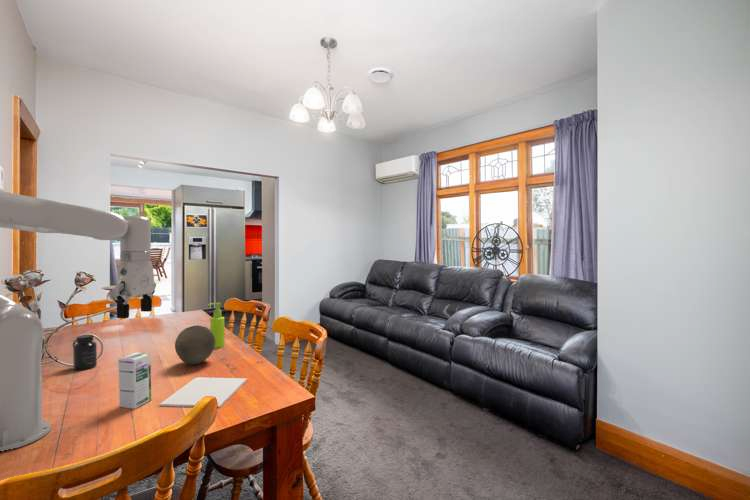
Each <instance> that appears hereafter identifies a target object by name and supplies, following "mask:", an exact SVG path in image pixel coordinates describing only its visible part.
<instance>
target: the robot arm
mask: <svg viewBox="0 0 750 500" xmlns="http://www.w3.org/2000/svg"><path fill="white" fill-rule="evenodd" d="M0 228H4V229H10V230H17V231H18V230H19V231H25V232H30V233H31V232H33V233H40V234H65V235H73V236H80V237H87V238H92V239H95V240H100V241H116V240H119V245H120V246H119V247H120V248H119V251H120V254H119V257H120V258H119V266H118V271H117V278H116V286H115V287H114V288H112V289H111V290H110V294H111V296H112V300H113V301H114V303H115V305H116V318H117V319H129V318H130V303H129V301H130V300H131V298H132V297H134V298H135V297H136V298H137V297H142V298H140V312H145V313H146V312H147V313H148V312H152V311H153V298H154V294H155V291H156V290H155V289H156V287H157V283H156V282H155V277H154V276H155V275H154V274H155V273H154V267H153V263H152V260H151V259H152V258H151V257H152V254H151V252H152V250H151V249H152V247H151V245H152V240H151V239H152V232H151V231H152V222H151V219H150V218H149V217H146V216H139V215H126V216H122V215H121V214H118V213H116V212H112V211H107V210H101V209H97V208H94V207H93V208H91V207H87V206H82V205H81V206H80V205H78V204H77V205H76V204H69V203H63V202H59V201H55V200H50V199H45V198H40V197H34V196H28V195H24V194H19V193H12V192H9V191H4V190H0ZM43 340H44V327H43V323H42V320H41V319H40V318H39V316H38V315H37V314H35V313H34V312H33V311H31V310H29V309H28V308H27V307H25V306H23V305H21V304H19V303H18V302H15V301H14V300H12V299H10V298H8V297H7V296H5V295H3V294H1V293H0V451H2V450H3V451H2V452H5V451H4V450H7V451H9V450H8V449H11V450H14V448H15V449H18V448H22V447H24V446H27V445H29V444H32V443H33V442H36V441H38V440H40V439H43V437H45V436H46V435H47V434H48V433H49V432H51V431H50V430H51V428H52V427H51V426H52V425H51V423H50V422H49V421H46V420H43V396H42V395H43V393H42V391H43V389H42V387H43V386H42V385H43V383H42V381H43V380H42V378H43V376H42V375H43V374H42V371H43V370H42V369H43V368H42V353H43V351H42V350H43Z"/></svg>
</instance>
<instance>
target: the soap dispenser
mask: <svg viewBox="0 0 750 500" xmlns="http://www.w3.org/2000/svg"><path fill="white" fill-rule="evenodd" d="M221 304H222V303H221V302H211V303H207V305H208V306H215V309H214V310H213V316H212V317H211V318H210V328H209V329H210V330H211V331H212V333H213V334H214V337H215V346H214V349H219V348H218V347H220V348H224V347H225V333H226V332H225V318H226V317H225V316H222V315H223V314H222V311H223V310H222V309H221Z"/></svg>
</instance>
